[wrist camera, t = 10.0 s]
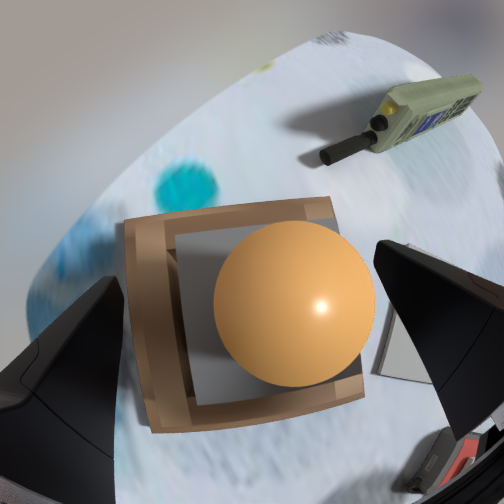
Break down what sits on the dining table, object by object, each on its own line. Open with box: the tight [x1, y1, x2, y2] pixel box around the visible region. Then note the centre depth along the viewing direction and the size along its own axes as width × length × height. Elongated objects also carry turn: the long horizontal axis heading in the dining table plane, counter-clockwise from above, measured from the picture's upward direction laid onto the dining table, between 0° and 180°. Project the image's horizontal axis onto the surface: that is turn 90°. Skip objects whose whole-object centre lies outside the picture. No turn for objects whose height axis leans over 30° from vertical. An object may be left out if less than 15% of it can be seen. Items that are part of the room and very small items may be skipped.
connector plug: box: [175, 217, 375, 405], centre depth 10 cm, size 4×4×13 cm
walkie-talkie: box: [406, 426, 483, 495], centre depth 13 cm, size 9×4×20 cm
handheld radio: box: [320, 74, 484, 166], centre depth 20 cm, size 7×3×25 cm
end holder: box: [124, 196, 365, 433], centre depth 15 cm, size 14×14×5 cm
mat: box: [377, 243, 459, 383], centre depth 18 cm, size 10×10×1 cm
